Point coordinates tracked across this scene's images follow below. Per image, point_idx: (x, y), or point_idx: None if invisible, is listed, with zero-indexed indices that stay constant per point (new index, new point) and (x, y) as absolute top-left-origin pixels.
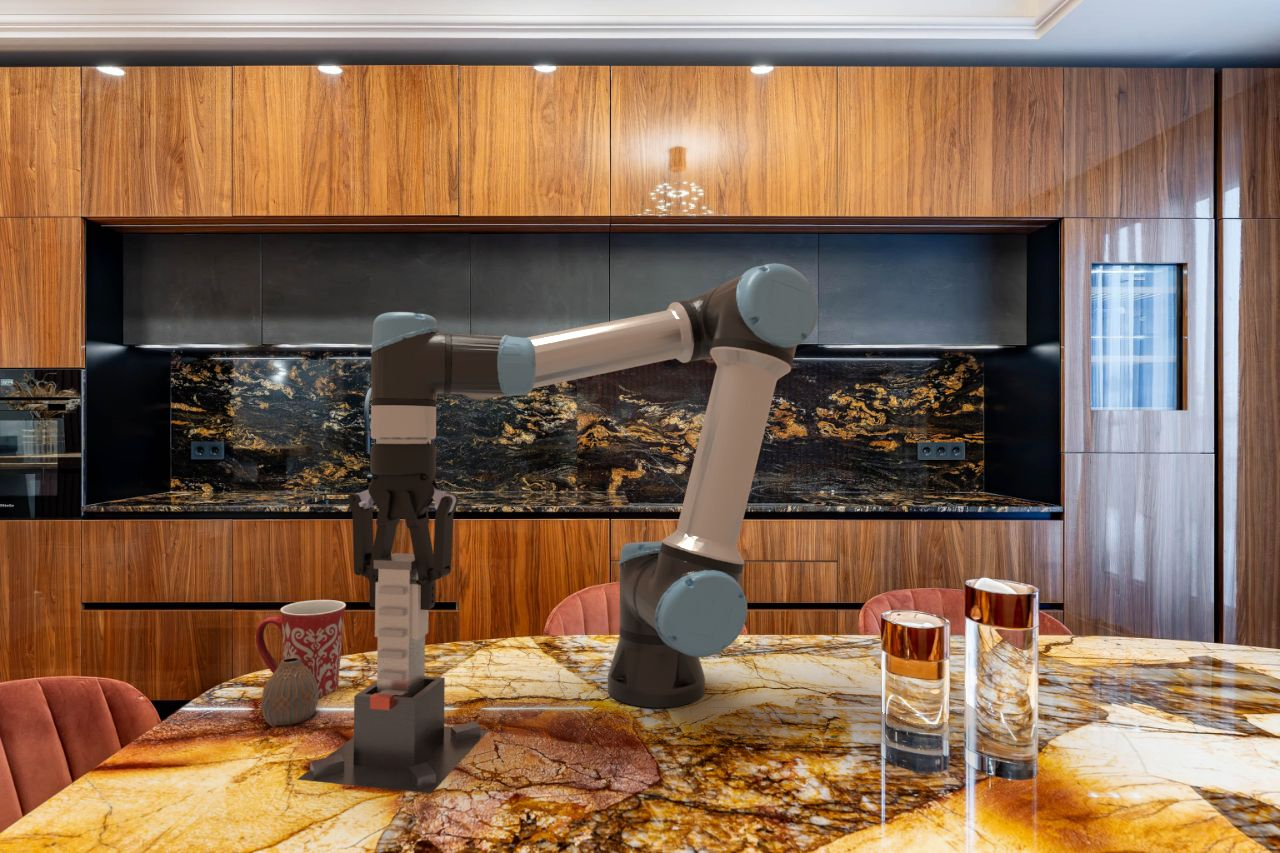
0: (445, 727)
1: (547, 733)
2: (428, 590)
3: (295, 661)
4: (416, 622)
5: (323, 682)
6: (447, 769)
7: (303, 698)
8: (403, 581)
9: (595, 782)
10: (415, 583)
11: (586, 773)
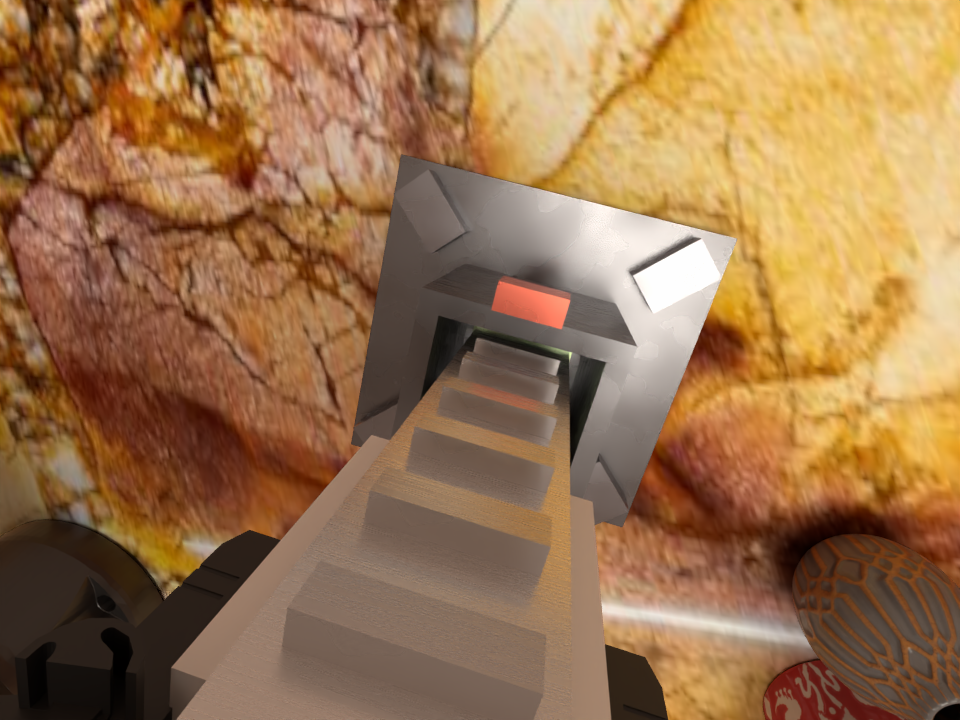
0: None
1: (245, 443)
2: (149, 631)
3: (939, 704)
4: (342, 480)
5: (809, 713)
6: (394, 264)
7: (838, 584)
8: (272, 705)
9: (114, 226)
10: None
11: (137, 264)
